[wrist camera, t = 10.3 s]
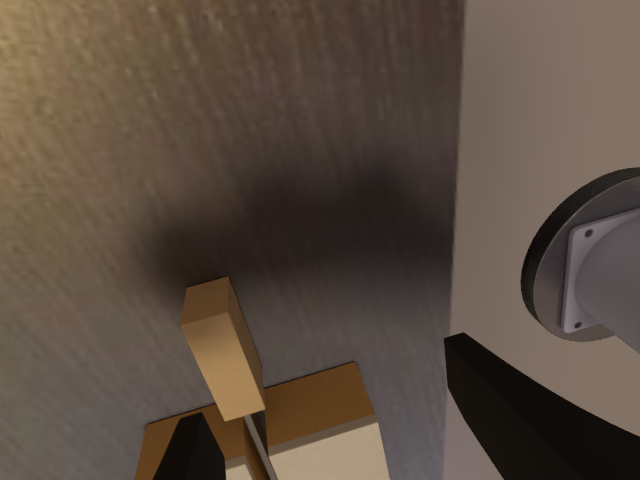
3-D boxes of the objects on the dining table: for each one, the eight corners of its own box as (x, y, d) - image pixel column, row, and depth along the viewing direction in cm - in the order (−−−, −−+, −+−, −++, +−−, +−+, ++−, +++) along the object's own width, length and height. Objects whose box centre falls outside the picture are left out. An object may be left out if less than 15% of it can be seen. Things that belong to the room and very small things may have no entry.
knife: (186, 287, 21) (179, 326, 18) (228, 275, 21) (227, 312, 19) (276, 495, 30) (281, 543, 27) (305, 485, 30) (313, 532, 27)
